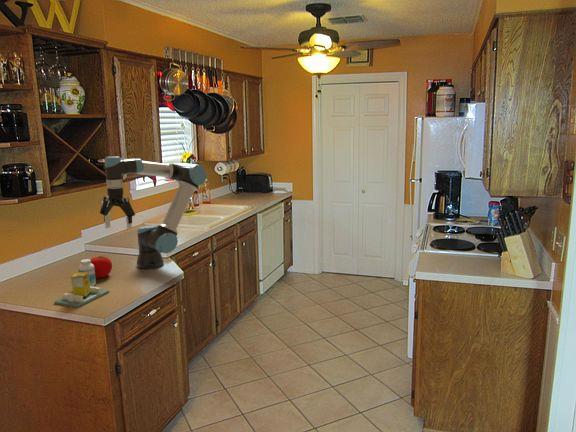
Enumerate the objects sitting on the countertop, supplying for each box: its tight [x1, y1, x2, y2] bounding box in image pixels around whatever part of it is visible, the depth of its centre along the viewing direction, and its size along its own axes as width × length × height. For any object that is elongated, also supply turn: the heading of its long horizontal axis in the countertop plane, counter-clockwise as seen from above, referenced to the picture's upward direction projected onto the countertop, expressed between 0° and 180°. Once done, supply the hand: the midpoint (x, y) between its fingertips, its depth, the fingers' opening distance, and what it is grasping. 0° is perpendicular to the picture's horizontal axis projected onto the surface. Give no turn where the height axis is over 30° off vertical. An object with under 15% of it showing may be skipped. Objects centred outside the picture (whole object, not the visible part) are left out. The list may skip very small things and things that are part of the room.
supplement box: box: [70, 271, 91, 298], centre depth 222 cm, size 6×6×11 cm
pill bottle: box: [77, 258, 97, 287], centre depth 239 cm, size 8×7×14 cm
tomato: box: [89, 255, 113, 279], centre depth 252 cm, size 12×14×11 cm
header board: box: [54, 285, 110, 309], centre depth 223 cm, size 20×14×5 cm
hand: (118, 228), depth 239 cm, fingers open, 13 cm apart
